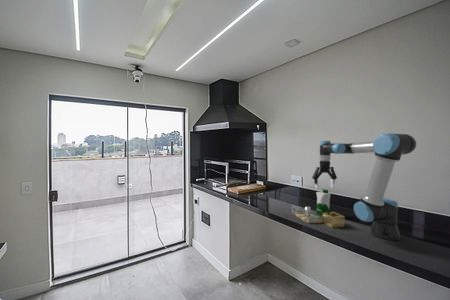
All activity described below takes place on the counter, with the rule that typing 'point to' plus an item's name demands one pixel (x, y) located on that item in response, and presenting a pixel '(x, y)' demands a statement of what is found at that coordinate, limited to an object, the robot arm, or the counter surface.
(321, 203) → the milk carton
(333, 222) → the gold square frame
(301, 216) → the bench plate
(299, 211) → the grey metal piece
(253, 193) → the counter surface
